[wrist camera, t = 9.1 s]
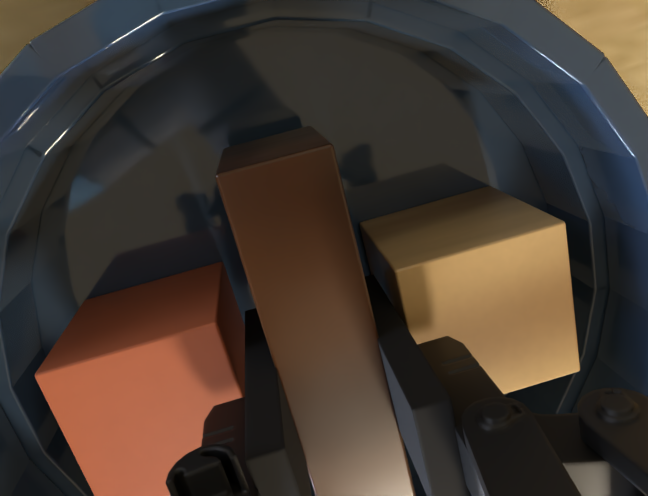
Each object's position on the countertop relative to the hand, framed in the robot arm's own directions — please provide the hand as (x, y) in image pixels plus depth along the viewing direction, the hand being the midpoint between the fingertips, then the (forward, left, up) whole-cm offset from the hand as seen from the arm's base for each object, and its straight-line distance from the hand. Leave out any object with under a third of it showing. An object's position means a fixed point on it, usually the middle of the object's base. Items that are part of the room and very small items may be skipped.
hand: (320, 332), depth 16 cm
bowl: (0, 0, -3) cm, 3 cm away
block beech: (0, +4, -2) cm, 5 cm away
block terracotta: (0, -5, -2) cm, 5 cm away
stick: (0, 0, 0) cm, 0 cm away
